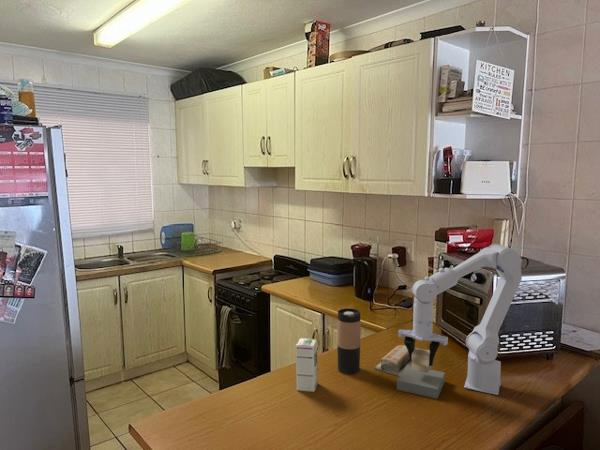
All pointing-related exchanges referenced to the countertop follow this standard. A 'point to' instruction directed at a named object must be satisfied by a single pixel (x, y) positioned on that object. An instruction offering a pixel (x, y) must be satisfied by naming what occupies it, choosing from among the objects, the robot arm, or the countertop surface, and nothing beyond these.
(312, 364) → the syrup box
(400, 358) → the packaged product
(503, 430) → the countertop surface
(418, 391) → the gray plinth
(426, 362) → the birch block
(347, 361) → the travel mug
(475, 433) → the countertop surface
